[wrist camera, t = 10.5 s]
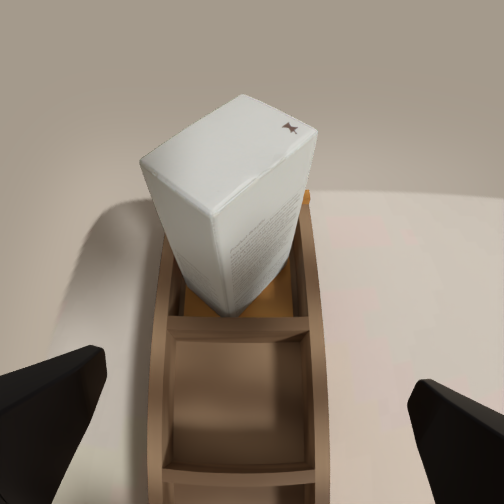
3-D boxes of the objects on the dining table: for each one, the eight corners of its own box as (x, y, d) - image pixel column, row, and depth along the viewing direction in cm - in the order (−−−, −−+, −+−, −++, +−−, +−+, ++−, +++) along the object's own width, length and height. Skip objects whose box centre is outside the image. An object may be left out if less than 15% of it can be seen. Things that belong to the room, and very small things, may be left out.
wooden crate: (311, 568, 12) (326, 597, 8) (170, 568, 11) (156, 596, 7) (298, 226, 25) (308, 189, 21) (180, 226, 25) (170, 188, 21)
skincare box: (242, 231, 23) (244, 89, 13) (287, 265, 22) (324, 128, 11) (183, 287, 21) (133, 157, 10) (229, 328, 20) (215, 219, 9)
